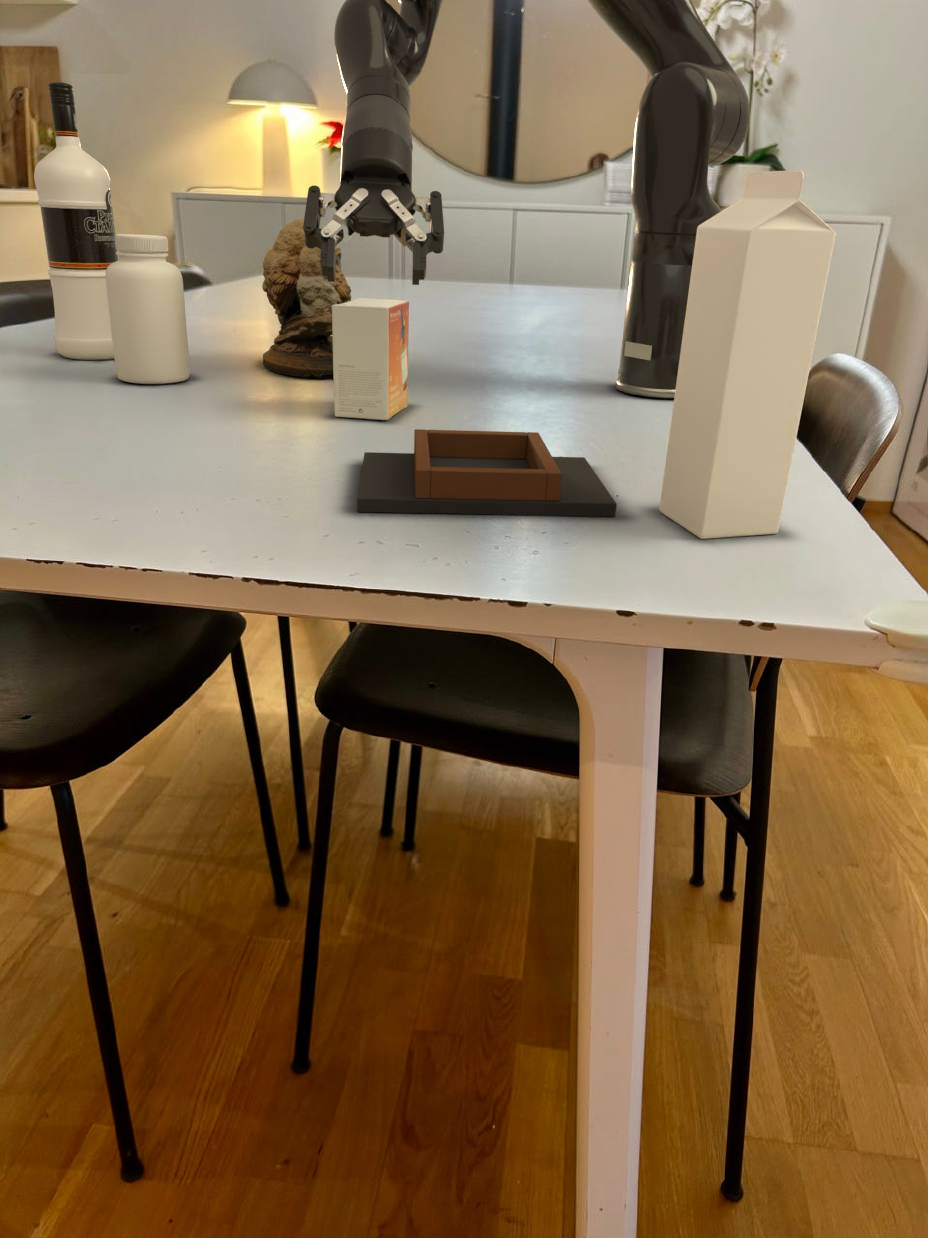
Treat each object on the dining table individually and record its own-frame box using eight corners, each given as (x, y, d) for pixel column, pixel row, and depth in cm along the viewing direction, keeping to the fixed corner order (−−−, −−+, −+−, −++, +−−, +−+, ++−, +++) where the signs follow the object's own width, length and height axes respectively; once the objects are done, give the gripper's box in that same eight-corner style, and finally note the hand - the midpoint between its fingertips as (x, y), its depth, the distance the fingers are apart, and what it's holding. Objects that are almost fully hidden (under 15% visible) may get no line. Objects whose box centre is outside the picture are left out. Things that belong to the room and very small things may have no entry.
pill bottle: (206, 379, 103) (195, 236, 97) (149, 388, 97) (133, 237, 91) (158, 370, 107) (145, 232, 101) (101, 378, 101) (83, 233, 94)
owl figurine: (386, 378, 108) (387, 222, 100) (291, 383, 102) (284, 219, 95) (333, 355, 122) (330, 217, 115) (247, 358, 117) (238, 214, 109)
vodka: (72, 348, 119) (35, 84, 106) (143, 350, 119) (115, 88, 106) (44, 359, 110) (0, 75, 98) (121, 362, 111) (87, 79, 98)
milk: (700, 540, 60) (757, 167, 50) (657, 511, 65) (702, 169, 55) (780, 534, 61) (849, 172, 52) (731, 506, 66) (787, 173, 57)
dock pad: (583, 468, 74) (587, 432, 73) (615, 517, 63) (620, 475, 62) (364, 464, 73) (364, 427, 72) (357, 512, 62) (356, 469, 61)
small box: (388, 422, 87) (388, 307, 83) (332, 417, 88) (330, 303, 83) (409, 406, 94) (410, 299, 90) (358, 401, 95) (356, 296, 91)
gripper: (441, 185, 100) (442, 305, 95) (312, 179, 99) (305, 300, 94) (445, 128, 93) (445, 254, 88) (306, 120, 92) (297, 247, 87)
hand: (373, 277), depth 91 cm, fingers open, 8 cm apart
